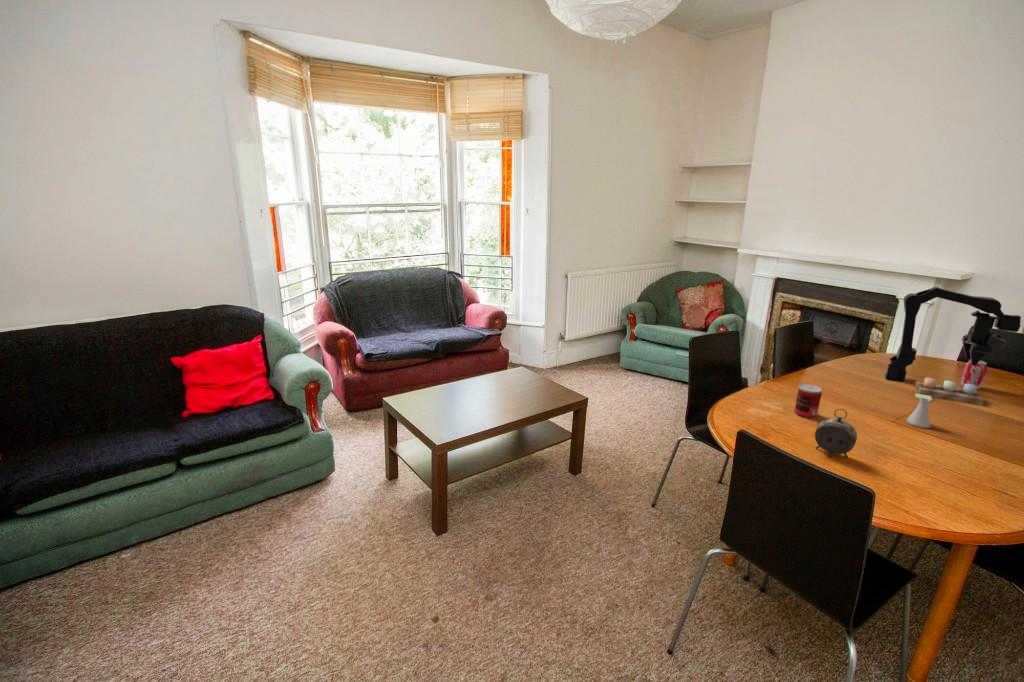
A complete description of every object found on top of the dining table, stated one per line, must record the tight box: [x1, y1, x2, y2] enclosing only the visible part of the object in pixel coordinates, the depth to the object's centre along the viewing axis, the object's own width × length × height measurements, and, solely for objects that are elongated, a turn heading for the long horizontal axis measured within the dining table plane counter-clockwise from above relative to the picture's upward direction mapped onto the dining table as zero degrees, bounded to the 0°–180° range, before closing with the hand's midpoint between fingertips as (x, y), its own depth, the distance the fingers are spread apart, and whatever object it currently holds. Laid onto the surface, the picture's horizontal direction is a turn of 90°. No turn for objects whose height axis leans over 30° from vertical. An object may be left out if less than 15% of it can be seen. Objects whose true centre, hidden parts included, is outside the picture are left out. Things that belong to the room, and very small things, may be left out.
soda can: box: [960, 359, 988, 390], centre depth 215 cm, size 7×7×12 cm
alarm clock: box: [814, 408, 858, 459], centre depth 156 cm, size 11×5×16 cm, turn 49°
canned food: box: [793, 383, 823, 419], centre depth 186 cm, size 8×8×11 cm
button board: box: [914, 380, 984, 406], centre depth 207 cm, size 20×12×2 cm, turn 59°
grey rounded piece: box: [962, 384, 978, 396], centre depth 203 cm, size 4×4×4 cm
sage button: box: [942, 380, 958, 392], centre depth 206 cm, size 4×4×4 cm
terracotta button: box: [923, 377, 938, 389], centre depth 209 cm, size 4×4×4 cm
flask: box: [906, 398, 932, 429], centre depth 179 cm, size 7×7×10 cm
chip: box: [914, 392, 933, 402], centre depth 204 cm, size 5×5×1 cm
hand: (970, 362), depth 209 cm, fingers open, 9 cm apart
